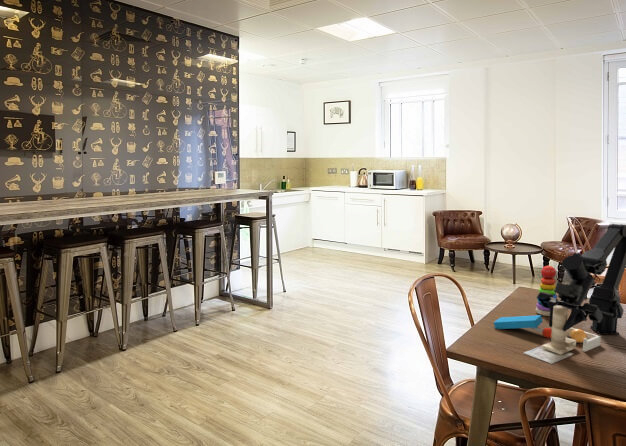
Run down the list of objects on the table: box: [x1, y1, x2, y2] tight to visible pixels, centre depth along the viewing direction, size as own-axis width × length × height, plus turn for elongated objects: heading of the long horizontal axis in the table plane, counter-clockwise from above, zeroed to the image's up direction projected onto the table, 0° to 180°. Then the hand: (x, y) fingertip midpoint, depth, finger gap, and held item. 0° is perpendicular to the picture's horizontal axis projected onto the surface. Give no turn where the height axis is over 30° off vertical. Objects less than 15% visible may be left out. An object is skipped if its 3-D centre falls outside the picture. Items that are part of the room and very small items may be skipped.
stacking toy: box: [535, 265, 558, 317], centre depth 185 cm, size 8×8×19 cm
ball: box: [570, 328, 586, 344], centre depth 158 cm, size 4×4×4 cm
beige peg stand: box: [541, 306, 577, 354], centre depth 151 cm, size 10×6×13 cm, turn 123°
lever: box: [493, 314, 552, 339], centre depth 168 cm, size 7×7×18 cm
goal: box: [566, 327, 602, 352], centre depth 157 cm, size 9×11×4 cm
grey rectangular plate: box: [523, 345, 574, 365], centre depth 149 cm, size 12×9×1 cm
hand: (556, 328), depth 150 cm, fingers closed on beige peg stand, 4 cm apart
